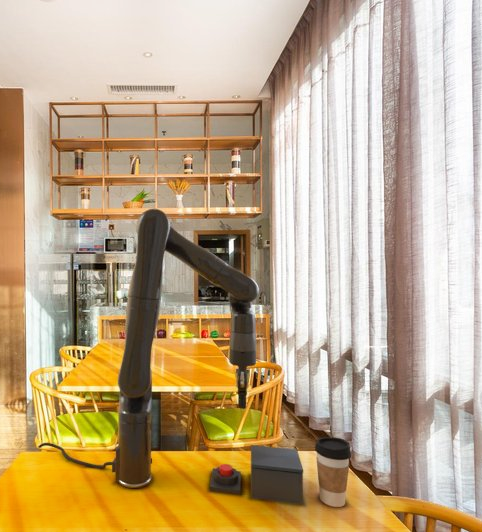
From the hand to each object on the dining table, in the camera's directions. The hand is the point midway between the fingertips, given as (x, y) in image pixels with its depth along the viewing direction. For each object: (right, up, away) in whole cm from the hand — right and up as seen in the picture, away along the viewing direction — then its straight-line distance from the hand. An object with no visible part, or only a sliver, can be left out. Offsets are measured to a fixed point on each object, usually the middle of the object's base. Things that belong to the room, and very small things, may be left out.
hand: (242, 407), depth 114 cm
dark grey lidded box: (+7, -19, -7) cm, 22 cm away
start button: (-5, -17, -4) cm, 18 cm away
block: (-5, -19, -4) cm, 20 cm away
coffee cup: (+21, -20, -12) cm, 31 cm away
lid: (+7, -11, -7) cm, 15 cm away
